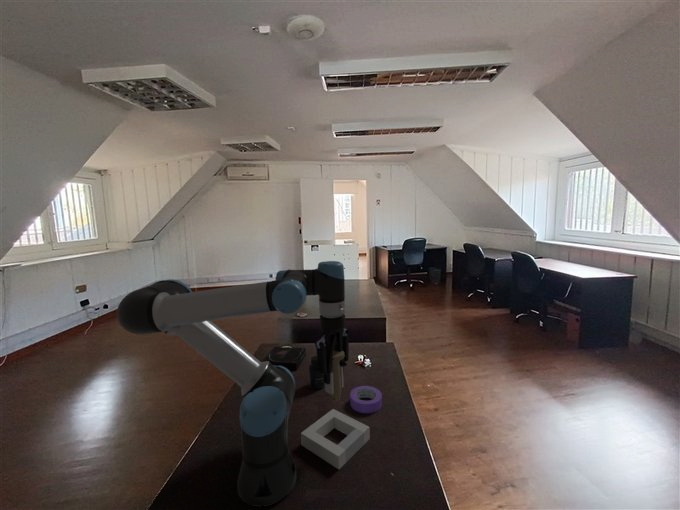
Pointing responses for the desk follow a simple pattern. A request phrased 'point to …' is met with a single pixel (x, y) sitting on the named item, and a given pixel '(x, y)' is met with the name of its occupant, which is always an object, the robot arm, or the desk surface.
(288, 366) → the portable cd player
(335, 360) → the handle
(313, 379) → the supplement bottle
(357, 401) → the masking tape
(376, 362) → the desk surface
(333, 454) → the socket
